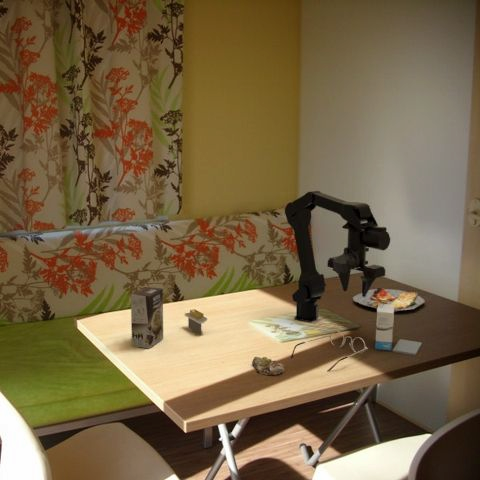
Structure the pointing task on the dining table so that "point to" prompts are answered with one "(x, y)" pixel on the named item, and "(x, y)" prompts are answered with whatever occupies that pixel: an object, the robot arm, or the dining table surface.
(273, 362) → the mineral rock
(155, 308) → the coffee box
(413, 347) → the mat
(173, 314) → the dining table surface
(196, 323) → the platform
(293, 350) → the eyeglasses
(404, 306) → the food plate
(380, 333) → the ink box
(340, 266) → the robot arm
